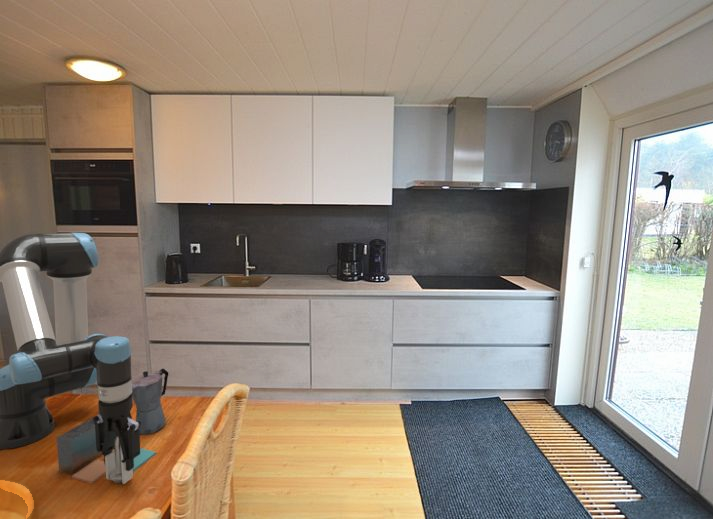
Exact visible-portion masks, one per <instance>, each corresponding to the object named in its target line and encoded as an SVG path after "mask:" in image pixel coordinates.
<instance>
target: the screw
mask: <svg viewBox="0 0 713 519" xmlns="http://www.w3.org/2000/svg"><path fill="white" fill-rule="evenodd" d="M113 451H114V452H115V453H114V454H115V468H116V469H115V470H113V471H112V472H111V473H110V474H109V479H108V480H110V481H114V484H121V483H122V469H121V460H123V454H122V450H121V446H120V442H119V438H118V437H115V446H114V449H113Z"/></svg>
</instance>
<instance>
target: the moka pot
mask: <svg viewBox="0 0 713 519" xmlns="http://www.w3.org/2000/svg"><path fill="white" fill-rule="evenodd" d="M163 375H164V377H163ZM168 377H169V371H167V370H166V369H164V368H161V369H160V370H157V371H156V372H154V373H152V372H151V373H149V372H148V371H147V370H146V371H143V372H142V374H141V375H138V376H136V377H134V378H133V379H132V393H131V394H132V397H133V404H135V408H136V415H135V417H136V418H135V422H137V421H141V425H140V429H139V430H140V435H150V434H153V433H156V432H158V431H160V430H161V429H162V428H163V427H165V426H166V417H165V414H164V410H163V406H162V405H163V404H162V403H161V402H162V401H161V399H162V396H164V395H165V394H166V390H167V385H168ZM163 380H164V381H163Z"/></svg>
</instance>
